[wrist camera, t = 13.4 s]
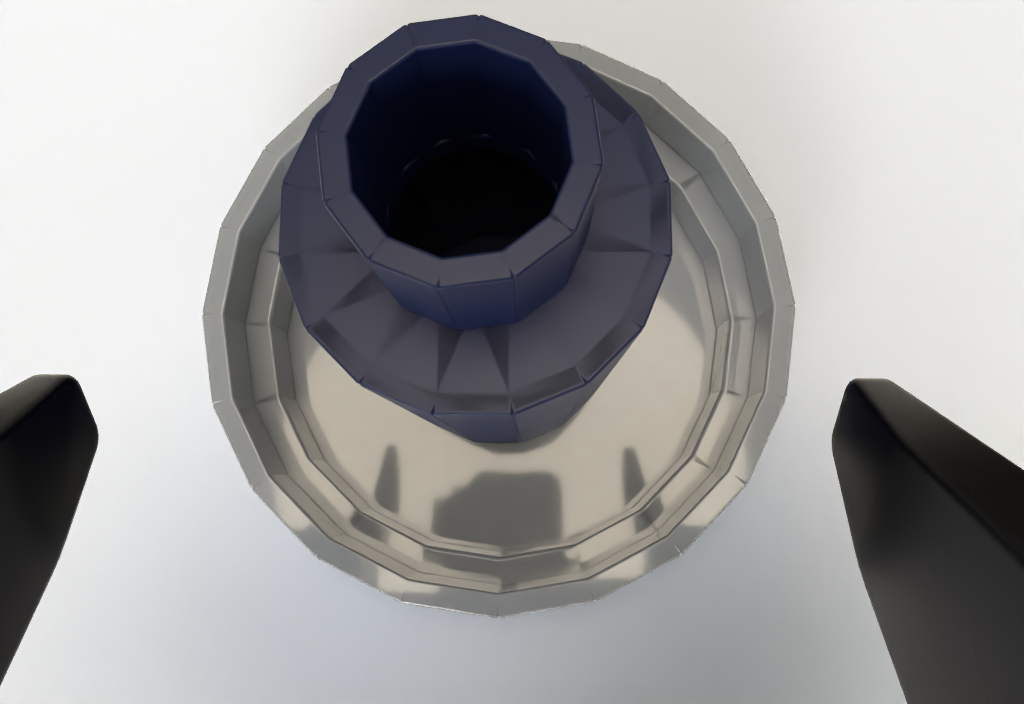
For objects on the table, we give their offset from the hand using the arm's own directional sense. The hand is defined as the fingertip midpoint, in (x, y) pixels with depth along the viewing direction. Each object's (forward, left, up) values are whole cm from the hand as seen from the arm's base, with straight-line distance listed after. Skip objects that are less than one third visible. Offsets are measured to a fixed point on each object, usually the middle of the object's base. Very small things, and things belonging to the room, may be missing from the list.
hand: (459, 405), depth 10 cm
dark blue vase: (+3, -1, -11) cm, 11 cm away
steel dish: (+3, -1, -11) cm, 12 cm away
